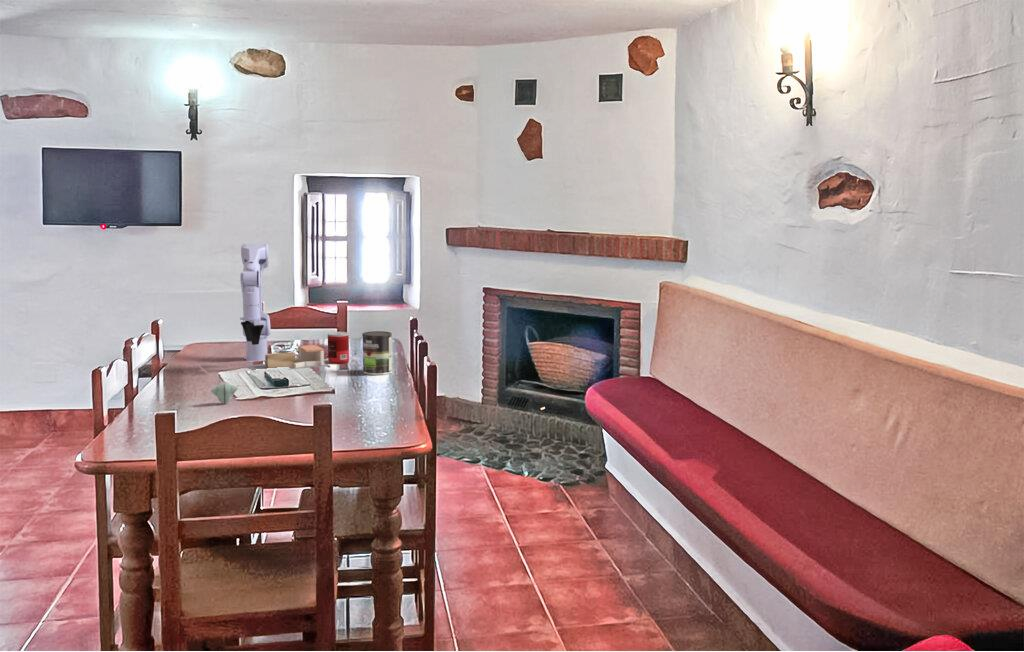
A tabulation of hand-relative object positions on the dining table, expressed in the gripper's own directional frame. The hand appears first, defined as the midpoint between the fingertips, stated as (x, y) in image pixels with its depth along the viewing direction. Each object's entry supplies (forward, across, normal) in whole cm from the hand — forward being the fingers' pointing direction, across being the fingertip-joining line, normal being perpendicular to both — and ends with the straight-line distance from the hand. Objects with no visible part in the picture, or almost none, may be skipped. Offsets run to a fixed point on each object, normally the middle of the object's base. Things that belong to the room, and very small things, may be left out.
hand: (252, 342), depth 329 cm
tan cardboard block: (+9, 0, +10) cm, 13 cm away
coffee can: (+10, +24, +38) cm, 46 cm away
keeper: (+10, 0, +12) cm, 16 cm away
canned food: (+10, -1, +32) cm, 33 cm away
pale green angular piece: (+10, +48, -20) cm, 53 cm away
